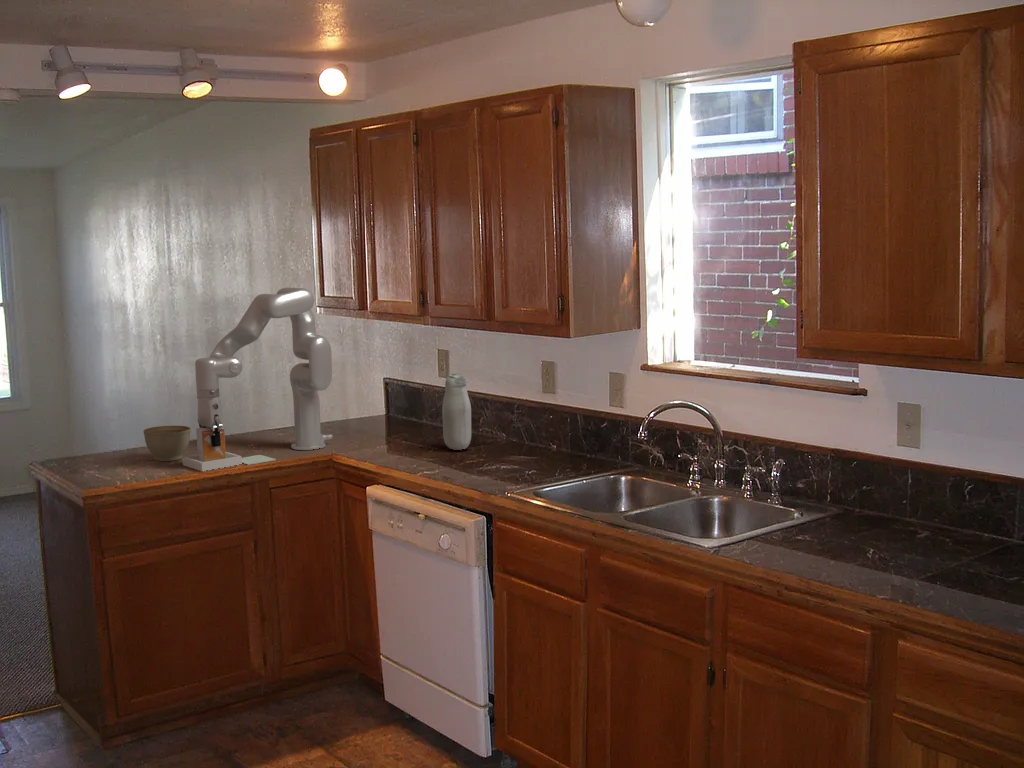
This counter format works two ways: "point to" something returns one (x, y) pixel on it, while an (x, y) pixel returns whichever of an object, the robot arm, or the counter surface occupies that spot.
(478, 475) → the counter surface
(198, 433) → the small box
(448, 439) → the glass bottle
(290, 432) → the counter surface
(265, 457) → the pad
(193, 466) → the bin
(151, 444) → the planter bowl
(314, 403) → the robot arm
